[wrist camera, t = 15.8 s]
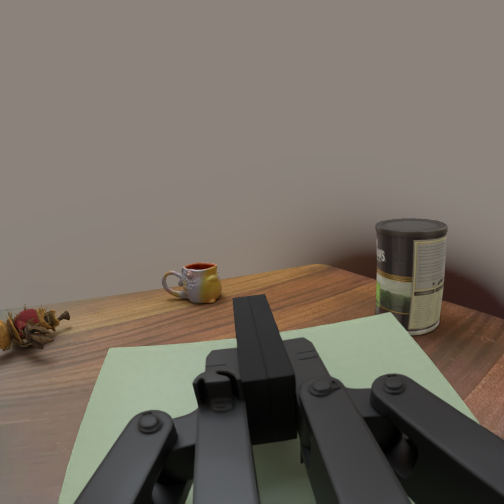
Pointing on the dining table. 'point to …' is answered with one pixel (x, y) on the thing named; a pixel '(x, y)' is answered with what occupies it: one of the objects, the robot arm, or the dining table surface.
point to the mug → (197, 283)
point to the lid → (193, 363)
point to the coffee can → (411, 272)
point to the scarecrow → (29, 328)
